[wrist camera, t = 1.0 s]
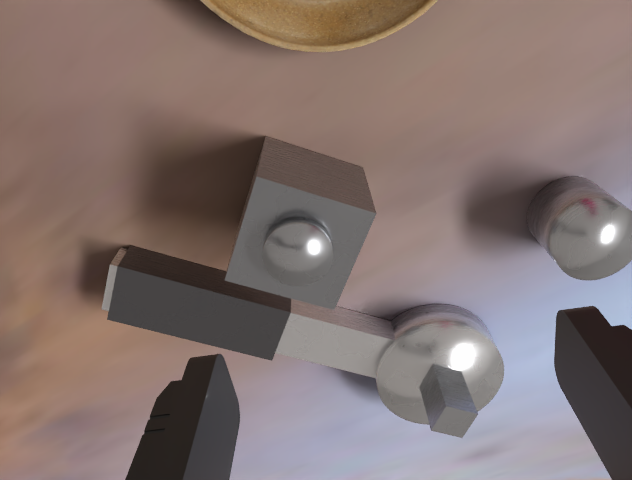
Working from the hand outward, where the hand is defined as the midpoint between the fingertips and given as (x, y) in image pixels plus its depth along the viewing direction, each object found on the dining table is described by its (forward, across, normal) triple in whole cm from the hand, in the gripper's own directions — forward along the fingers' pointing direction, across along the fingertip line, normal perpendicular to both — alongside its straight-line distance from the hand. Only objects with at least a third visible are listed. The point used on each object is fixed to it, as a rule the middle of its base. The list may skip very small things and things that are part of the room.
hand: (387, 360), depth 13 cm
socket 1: (+17, +3, +3) cm, 18 cm away
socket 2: (+18, -12, +6) cm, 22 cm away
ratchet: (+17, +4, +11) cm, 21 cm away
